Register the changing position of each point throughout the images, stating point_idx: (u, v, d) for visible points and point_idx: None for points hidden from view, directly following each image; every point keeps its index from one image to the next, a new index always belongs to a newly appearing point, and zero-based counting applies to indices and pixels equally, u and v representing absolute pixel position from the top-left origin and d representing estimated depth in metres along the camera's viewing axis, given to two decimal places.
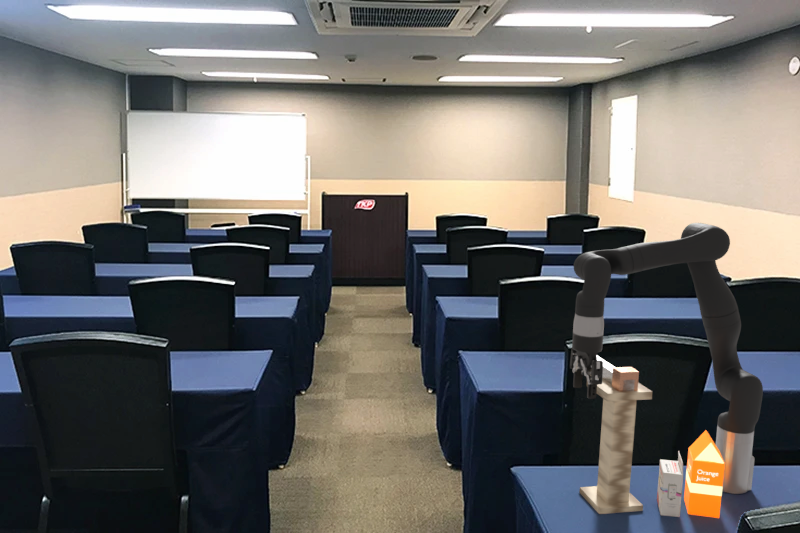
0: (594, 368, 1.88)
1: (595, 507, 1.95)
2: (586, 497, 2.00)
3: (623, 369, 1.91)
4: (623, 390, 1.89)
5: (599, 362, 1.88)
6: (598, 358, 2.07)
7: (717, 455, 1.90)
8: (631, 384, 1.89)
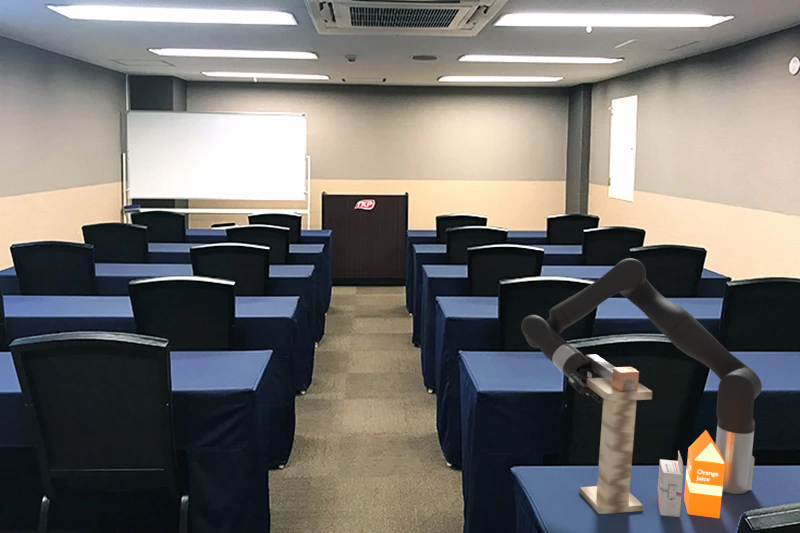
0: (571, 384, 2.01)
1: (595, 507, 1.95)
2: (586, 497, 2.00)
3: (623, 369, 1.91)
4: (623, 390, 1.89)
5: (570, 376, 2.02)
6: (598, 358, 2.07)
7: (717, 455, 1.90)
8: (631, 384, 1.89)
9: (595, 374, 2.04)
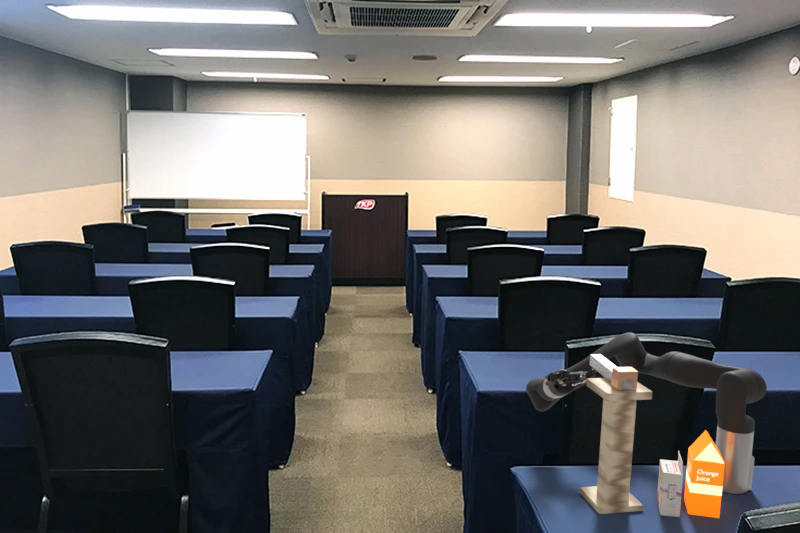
0: (547, 383, 2.24)
1: (595, 507, 1.95)
2: (586, 497, 2.00)
3: (623, 369, 1.91)
4: (621, 390, 1.89)
5: None
6: (602, 358, 2.07)
7: (717, 455, 1.90)
8: (629, 384, 1.89)
9: (570, 373, 2.26)
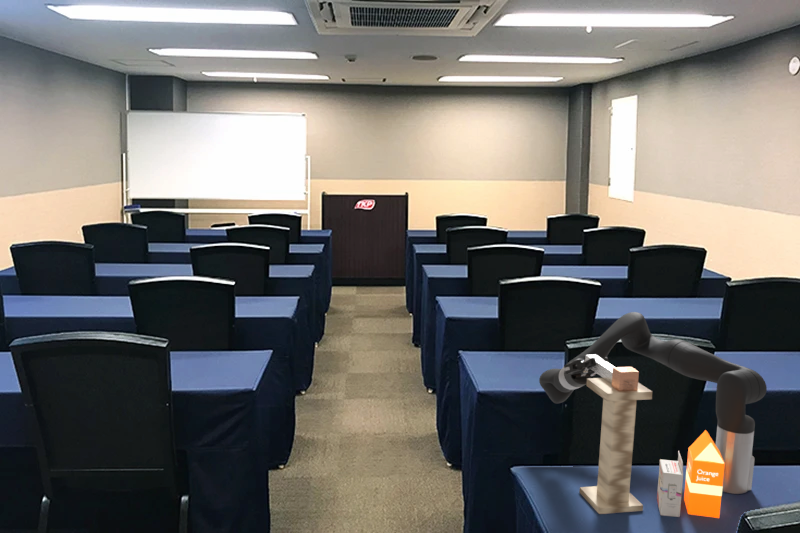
0: (568, 371, 2.10)
1: (595, 507, 1.95)
2: (586, 497, 2.00)
3: (623, 369, 1.91)
4: (623, 390, 1.89)
5: (564, 367, 2.12)
6: (598, 358, 2.07)
7: (717, 455, 1.90)
8: (631, 384, 1.89)
9: None
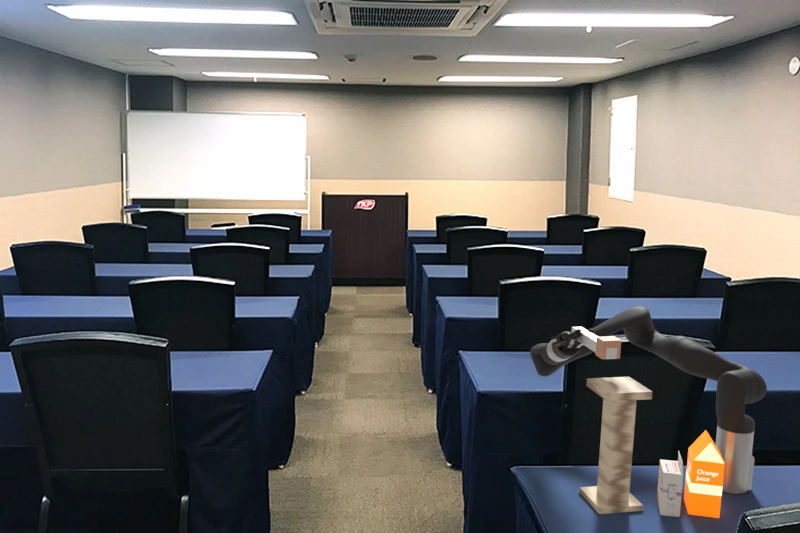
0: (555, 343, 2.19)
1: (595, 507, 1.95)
2: (586, 497, 2.00)
3: (606, 338, 1.99)
4: (606, 358, 1.98)
5: (552, 339, 2.21)
6: (583, 330, 2.15)
7: (717, 455, 1.90)
8: (613, 352, 1.98)
9: None
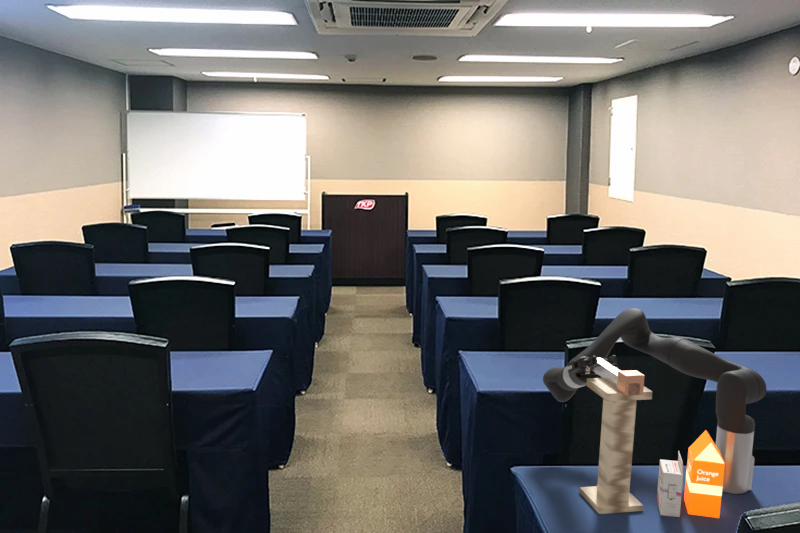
0: (571, 370, 2.08)
1: (595, 507, 1.95)
2: (586, 497, 2.00)
3: (629, 372, 1.88)
4: (628, 394, 1.86)
5: (568, 366, 2.09)
6: (602, 361, 2.04)
7: (717, 455, 1.90)
8: (636, 388, 1.87)
9: None
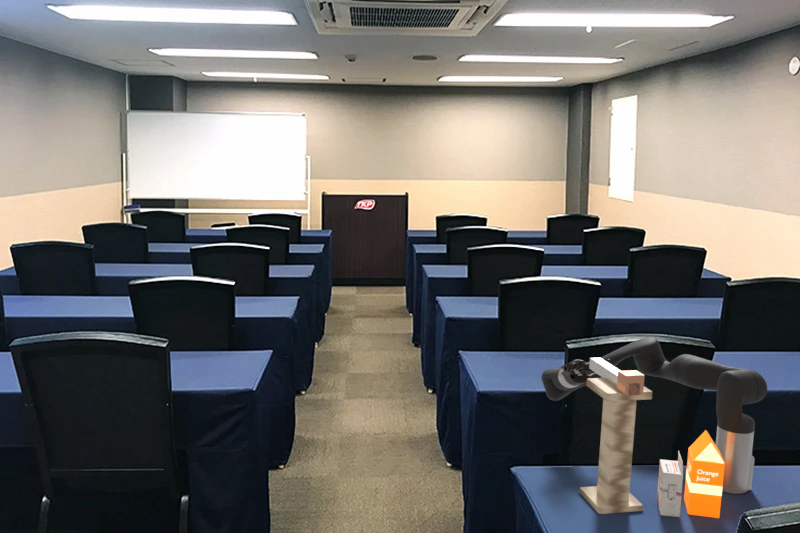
0: (563, 373, 2.28)
1: (595, 507, 1.95)
2: (586, 497, 2.00)
3: (629, 372, 1.88)
4: (628, 394, 1.86)
5: None
6: (602, 361, 2.04)
7: (717, 455, 1.90)
8: (636, 388, 1.87)
9: (586, 364, 2.31)
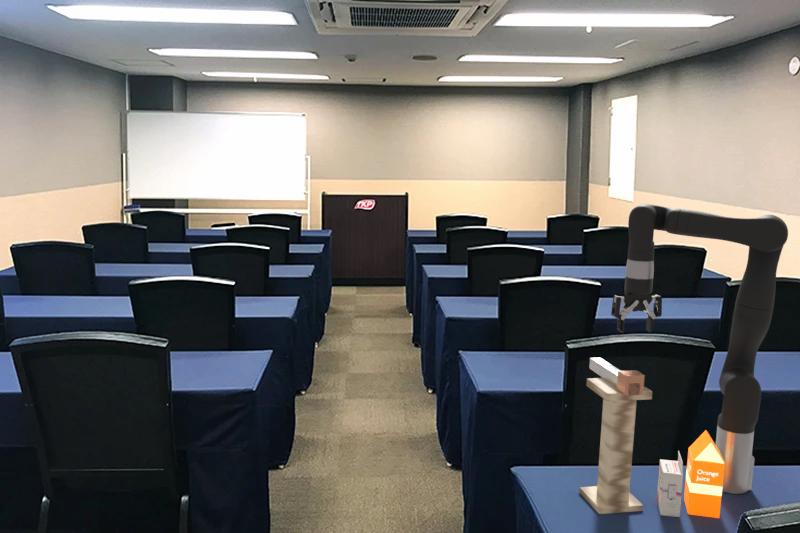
0: (613, 301, 2.14)
1: (595, 507, 1.95)
2: (586, 497, 2.00)
3: (629, 372, 1.88)
4: (628, 394, 1.86)
5: (617, 297, 2.13)
6: (602, 361, 2.04)
7: (717, 455, 1.90)
8: (636, 388, 1.87)
9: (642, 303, 2.13)
